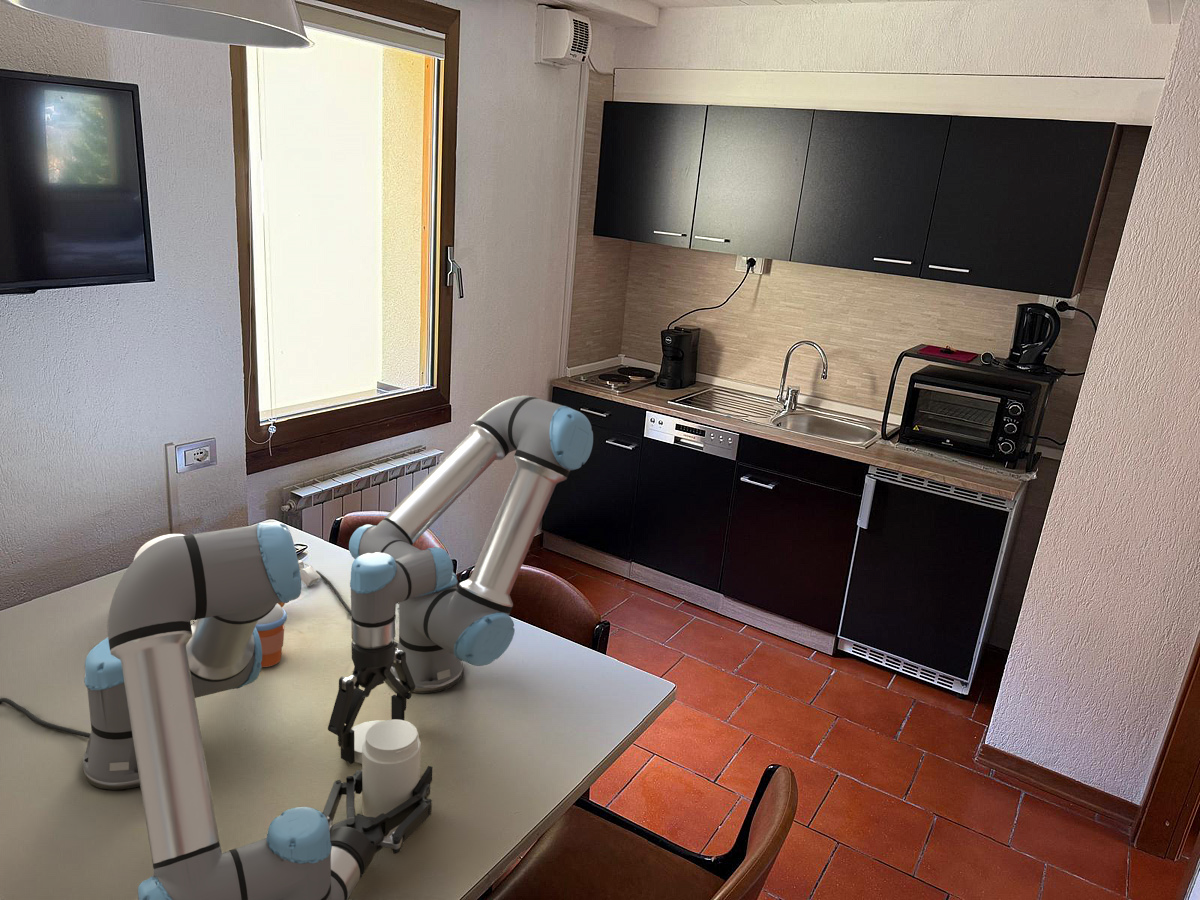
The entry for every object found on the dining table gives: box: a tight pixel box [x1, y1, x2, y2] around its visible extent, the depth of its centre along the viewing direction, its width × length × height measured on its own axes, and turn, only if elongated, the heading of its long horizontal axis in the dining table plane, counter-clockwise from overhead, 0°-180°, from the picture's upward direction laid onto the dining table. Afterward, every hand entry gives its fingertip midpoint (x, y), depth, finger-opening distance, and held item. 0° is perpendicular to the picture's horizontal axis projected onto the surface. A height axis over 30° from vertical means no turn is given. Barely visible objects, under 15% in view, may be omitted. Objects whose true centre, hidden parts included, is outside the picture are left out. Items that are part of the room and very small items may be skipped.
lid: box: [351, 719, 382, 765], centre depth 158 cm, size 10×10×2 cm
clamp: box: [298, 559, 321, 587], centre depth 219 cm, size 20×4×7 cm, turn 62°
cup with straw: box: [255, 603, 288, 668], centre depth 180 cm, size 9×9×18 cm
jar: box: [361, 718, 421, 837], centre depth 139 cm, size 9×9×16 cm
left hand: (402, 767), depth 144 cm, fingers closed on jar, 9 cm apart
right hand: (373, 743), depth 158 cm, fingers open, 12 cm apart
